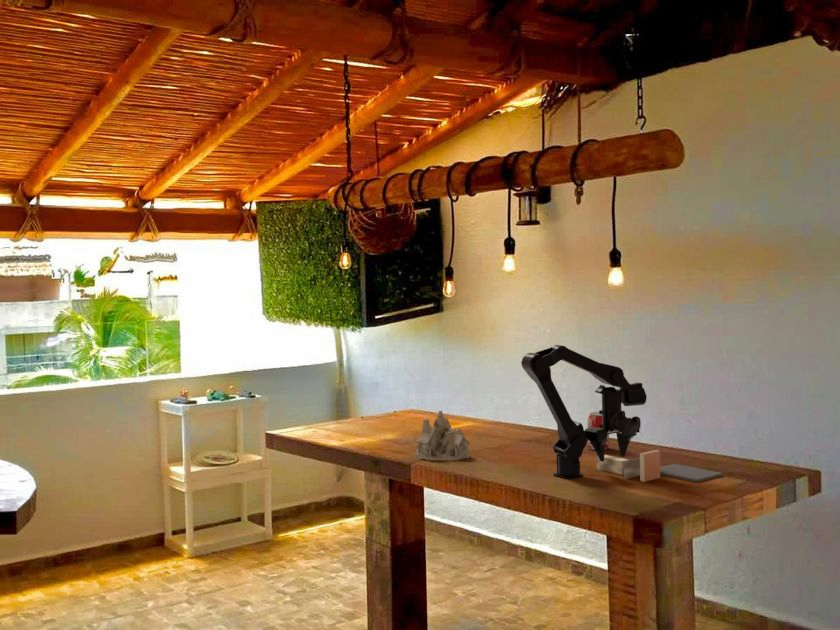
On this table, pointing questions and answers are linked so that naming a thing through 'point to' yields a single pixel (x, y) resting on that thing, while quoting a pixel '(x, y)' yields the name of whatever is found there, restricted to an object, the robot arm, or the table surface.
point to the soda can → (594, 422)
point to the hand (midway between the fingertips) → (612, 458)
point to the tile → (649, 465)
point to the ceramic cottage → (441, 441)
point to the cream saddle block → (620, 466)
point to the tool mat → (688, 473)
